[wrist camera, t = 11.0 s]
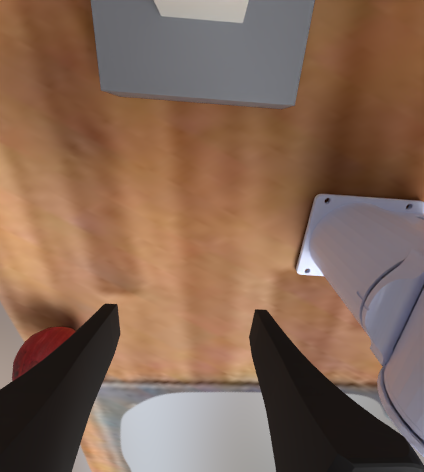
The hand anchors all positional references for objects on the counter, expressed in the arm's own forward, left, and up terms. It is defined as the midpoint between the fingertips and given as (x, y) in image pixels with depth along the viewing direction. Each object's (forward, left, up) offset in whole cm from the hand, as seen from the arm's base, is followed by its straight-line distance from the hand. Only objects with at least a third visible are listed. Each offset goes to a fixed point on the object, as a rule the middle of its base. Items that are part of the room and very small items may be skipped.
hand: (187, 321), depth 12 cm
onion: (+14, +13, -11) cm, 22 cm away
